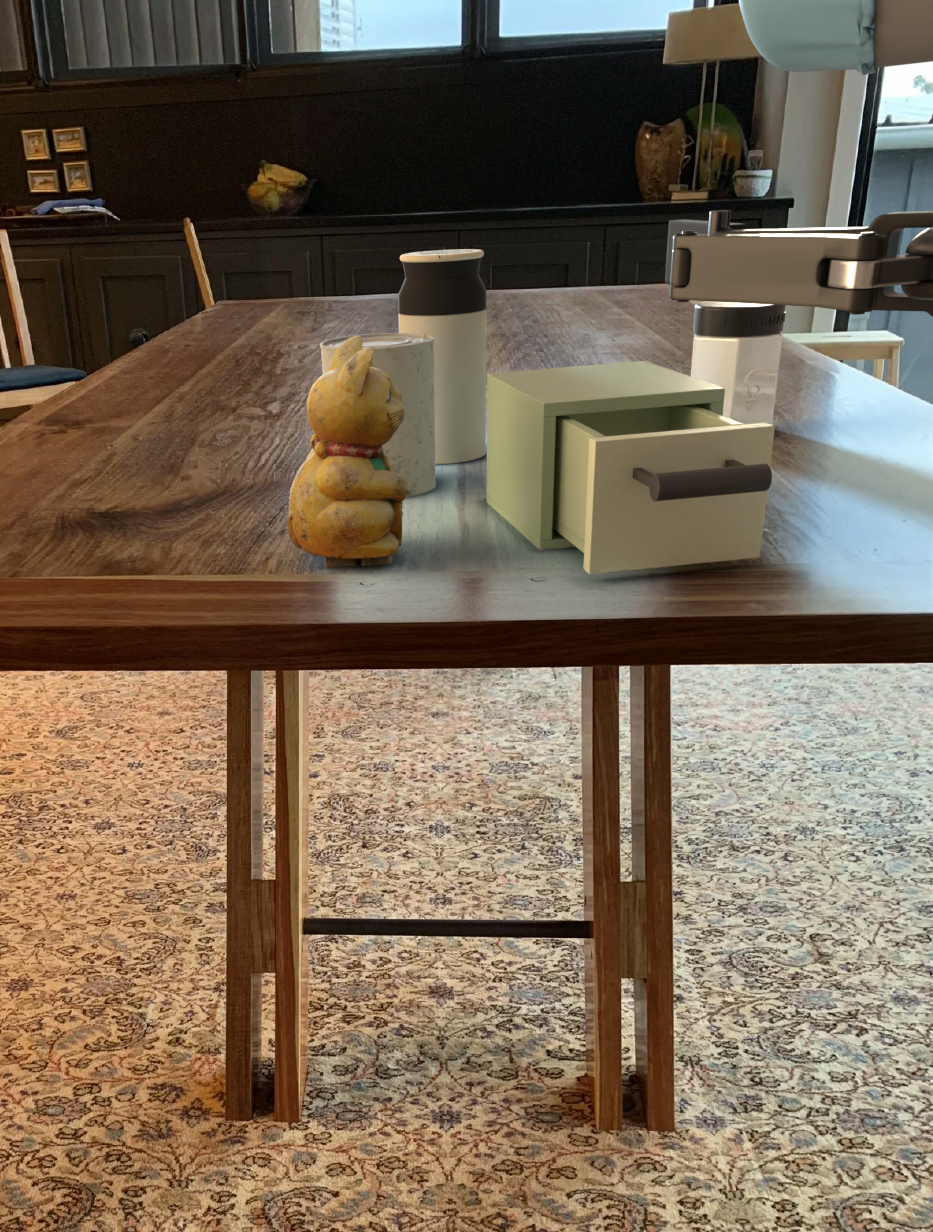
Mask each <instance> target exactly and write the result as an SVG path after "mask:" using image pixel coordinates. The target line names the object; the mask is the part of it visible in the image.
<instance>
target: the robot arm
mask: <svg viewBox="0 0 933 1232" xmlns="http://www.w3.org/2000/svg"><path fill="white" fill-rule="evenodd" d="M738 5H739V9H740V13H741V16H742V20H743V23H744V26H745V30H746V32H747V34H748V36H749V39H750V41H751V43H752V44H753V46H754V47H755V49H756V51H758V53H759V54H760V56H761V57H762V58H763V59H764V60H766V61H767V62H768V63H769V64H771V65H772V66H774V67H776V68H778V69H780V70H782V71H784V72H793V73H808V72H827V71H828V72H829V71H832V72H833V71H849V70H851V71H852V70H856V71H857V72H858V73H859V74H861V75H862V76H866V75H872V74H876V69H878V68H887V67H896V66H904V65H913V64H921V63H931V62H933V0H738ZM731 217H732V209H720V210H710V211H709V217H708V220H699V219H698V220H697V219H672V220H669V221H668V233H667V243H666V244H667V247H666V260H665V261H666V262H665V276H664V277H665V278H664V283H665V284H669V291H668V293H669V294H668V299H669V300H671V301H677V303H689V302H690V301H699V302H703V301H717V302H736V303H754V304H772V305H786V306H790V307H791V306H793V307H794V306H795V307H811V308H821V309H829V310H836V311H844V312H848V313H850V315H856V316H857V315H858V316H859V315H865V314H866V313H870V312H871V313H872V312H873V311H887V312H889V311H891V312H894V311H895V312H923V313H924V312H925V313H927V314H928V315H929V316H930V317H932V318H933V210H917V211H916V210H915V211H894V212H888V213H883V214H879V215H878V216H876V217H875V218H874V219H873V221H872V222H871V223H870V224H869V225H868V226H842V227H841V226H837V227H835V226H834V227H791V228H790V227H788V228H787V227H786V228H785V227H784V228H747V224H746V223H739V222H731ZM904 229H924V230H923V231H921V232H919V233H918V234H917V235H916V236H915V237H914V238H912V239H911V241H910V242H909V243H908V245H907V247H906V249H905V254H898V252H899V244H900V239H901V238H900V237H901V234H902V231H903V230H904ZM894 286H901V290H902V292H903V293H902V292H901V293H900V292H896V290H895V289H894Z"/></svg>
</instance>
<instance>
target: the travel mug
mask: <svg viewBox="0 0 933 1232" xmlns="http://www.w3.org/2000/svg"><path fill="white" fill-rule="evenodd" d="M484 255H485V252H484V250H483V249H476V248H475V249H474V248H471V249H470V248H464V249H463V248H462V249H461V248H460V249H457V248H455V249H437V250H424V251H415V252H414V251H413V252H408V253H407V252H406V253H403V254H401V255H400V256H399V260H400V261H401V263H402V266H403V272H404V277H405V278H404V280H403V283H402V285H401V288H400V290H399V292H398V294H397V307H398V308H397V310H398V333H418V334H427V335H432V336H434V337H435V341H434V406H435V465H453V464H461V463H468V462H472V461H475V460H478V459H481V458H482V457H483V456H485V455H487V288H486V286H485V284H484V282H483V280H482V278H481V276H480V274H479V273H480V267H481V261H482V258H483V257H484Z"/></svg>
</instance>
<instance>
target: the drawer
mask: <svg viewBox="0 0 933 1232" xmlns="http://www.w3.org/2000/svg"><path fill="white" fill-rule="evenodd" d="M775 428H776V426H775V425H774V424H772V425H771V424H768V423H756V424H744V425H743V424H742V423H740V422H737V421H734V420H732V419H729V418H727V417H724V416H722V415H719V414H716V413H714V412H711V411H709V410H706V409H704V408H701V407H699V406H696V405H693V404H692V405H681V406H669V407H657V408H645V409H633V410H622V411H610V412H598V413H586V414H575V415H563V416H556V433H555V464H554V495H553V526H552V528H554V529H555V530H556V531H557V532H558V533H560V534H561V535H562V536H563V537H565V538H566V539H567V540H568V541H569V542H571V543H572V544H573V545H574V546H576V547H575V548H577V549H578V550H579V551H580V552H581V553H583V570H584V572H586V573H587V574H588V575H598V574H608V573H617V572H628V571H636V570H638V571H639V570H647V569H649V570H650V569H658V568H668V567H679V566H688V565H698V564H699V565H700V564H710V563H718V562H729V561H738V560H739V561H740V560H750V559H758V558H761V552H762V551H761V549H762V541H763V535H764V534H763V533H764V524H765V516H766V507H767V499H768V498H767V497H768V490H769V489H770V488H771V486H772V482H773V473H772V469H771V464H772V454H773V446H774V438H775V430H776V429H775Z"/></svg>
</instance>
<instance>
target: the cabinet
mask: <svg viewBox="0 0 933 1232" xmlns="http://www.w3.org/2000/svg"><path fill="white" fill-rule="evenodd" d="M724 395H725V388H722V387H719V386H716V385H714V384H711V383H708V382H705V381H702V380H699V379H696V378H693V377H690V375H687V374H684V373H681V372H678V371H676V370H672V369H669V368H666V367H664V366H661V365H658V364H655V363H653V362H649V361H646V360H637V361H623V362H612V363H600V364H598V363H597V364H588V365H587V364H586V365H575V366H561V367H560V366H559V367H551V368H550V367H549V368H538V369H537V368H535V369H526V370H525V369H524V370H514V371H513V370H511V371H499V372H489V373H486V503H487V504H488V506H490V507H491V508H492V509H493V510H494V511H496V512H497V513H498V514H499V515H500V516H501V517H502V518H503V519H504V520H506V521H507V522H508V523H509V524H510V525H511V526H512V527H513V528H514V529H516V530H517V531H518V532H519V533H520V534H521V535H522V536H523V537H525V538H526V539H527V540H528V541H529V542H530V543H531V544H532V545H533V546H535V547H536V548H537V549H538V550H539V551H545V550H546V551H547V550H553V549H554V550H556V549H565V548H577V547H576V546H574V545H573V544H572V543H571V542H569V541H568V540H567V539H566V538H565V537H563V536H562V535H561V534H560V533H558V532H557V531H556V530H555V529H554V528H552V526H553V495H554V464H555V433H556V416H563V415H575V414H586V413H598V412H610V411H622V410H633V409H645V408H657V407H669V406H681V405H692V404H693V405H696V406H699V407H701V408H704V409H706V410H709V411H711V412H714V413H716V414H719V415H722V416H723V405H724Z"/></svg>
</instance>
